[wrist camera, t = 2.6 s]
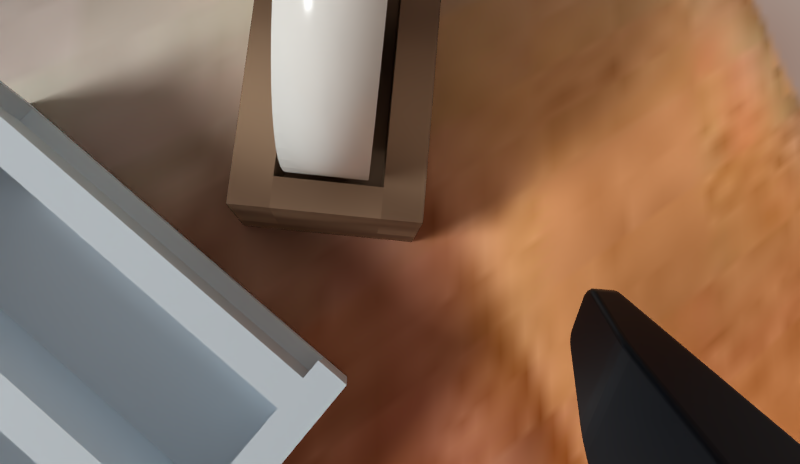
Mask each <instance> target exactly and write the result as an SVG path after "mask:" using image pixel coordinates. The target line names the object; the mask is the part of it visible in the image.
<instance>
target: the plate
mask: <svg viewBox="0 0 800 464" xmlns="http://www.w3.org/2000/svg"><path fill="white" fill-rule="evenodd" d="M387 1H388V0H272V18H271V95H272V115H273V128H274V138H275V146H276V151H277V156H278V161H279V164H280V167H281V168H282V170H283V171H285V172H291V173H300V174H310V175H320V176H329V177H339V178H349V179H358V180H369V172H370V164H371V155H372V146H373V136H374V127H375V118H376V108H377V99H378V89H379V79H380V70H381V60H382V50H383V41H384V31H385V21H386V11H387Z"/></svg>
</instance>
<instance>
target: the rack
mask: <svg viewBox="0 0 800 464" xmlns="http://www.w3.org/2000/svg"><path fill="white" fill-rule="evenodd" d="M346 385H347V376H346V375H344V374H343V373H342V372H341V371H340V370H339V369H338V368H336V367H335V366H334V365H333V364H332V363H331V362H329V361H328V360H327V359H326V358H325V357H324V356H322V355H321V354H320V353H319V352H318V351H317V350H315V349H314V348H313V347H312V346H311V345H310V344H308V343H307V342H306V341H305V340H304V339H303V338H301V337H300V336H299V335H298V334H297V333H296V332H295V331H293V330H292V329H291V328H290V327H289V326H288V325H286V324H285V323H284V322H283V321H282V320H281V319H279V318H278V317H277V316H276V315H275V314H274V313H272V312H271V311H270V310H269V309H268V308H267V307H265V306H264V305H263V304H262V303H261V302H260V301H258V300H257V299H256V298H255V297H254V296H253V295H252V294H250V293H249V292H248V291H247V290H246V289H245V288H243V287H242V286H241V285H240V284H239V283H238V282H236V281H235V280H234V279H233V278H232V277H231V276H229V275H228V274H227V273H226V272H225V271H224V270H222V269H221V268H220V267H219V266H218V265H217V264H216V263H214V262H213V261H212V260H211V259H210V258H209V257H207V256H206V255H205V254H204V253H203V252H202V251H200V250H199V249H198V248H197V247H196V246H195V245H193V244H192V243H191V242H190V241H189V240H188V239H186V238H185V237H184V236H183V235H182V234H181V233H179V232H178V231H177V230H176V229H175V228H174V227H173V226H171V225H170V224H169V223H168V222H167V221H166V220H164V219H163V218H162V217H161V216H160V215H159V214H157V213H156V212H155V211H154V210H153V209H152V208H150V207H149V206H148V205H147V204H146V203H145V202H143V201H142V200H141V199H140V198H139V197H138V196H137V195H135V194H134V193H133V192H132V191H131V190H130V189H128V188H127V187H126V186H125V185H124V184H123V183H121V182H120V181H119V180H118V179H117V178H116V177H114V176H113V175H112V174H111V173H110V172H109V171H107V170H106V169H105V168H104V167H103V166H102V165H100V164H99V163H98V162H97V161H96V160H95V159H94V158H92V157H91V156H90V155H89V154H88V153H87V152H85V151H84V150H83V149H82V148H81V147H80V146H78V145H77V144H76V143H75V142H74V141H73V140H71V139H70V138H69V137H68V136H67V135H66V134H64V133H63V132H62V131H61V130H60V129H59V128H57V127H56V126H55V125H54V124H53V123H52V122H51V121H49V120H48V119H47V118H46V117H45V116H44V115H42V114H41V113H40V112H39V111H38V110H37V109H35V108H34V107H33V106H32V105H31V104H30V103H28V102H27V101H26V100H25V99H23V98H22V97H21V96H19V95H18V94H17V93H15V92H14V91H13V90H12V89H10V88H9V87H8V86H6V85H5V84H4V83H2V82H1V81H0V464H282V463H283V461H284V460H285V459H286V458H287V457H288V455H289V454H290V453H291V452H292V451H293V449H294V448H295V447H296V446H297V444H298V443H299V442H300V441H301V440H302V438H303V437H304V436H305V435H306V434H307V432H308V431H309V430H310V429H311V428H312V426H313V425H314V424H315V423H316V422H317V420H318V419H319V418H320V417H321V416H322V414H323V413H324V412H325V411H326V409H327V408H328V407H329V406H330V405H331V403H332V402H333V401H334V400H335V399H336V397H337V396H338V395H339V394H340V393H341V391H342V390H343V389H344V388H345V387H346Z"/></svg>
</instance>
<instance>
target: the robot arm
mask: <svg viewBox="0 0 800 464" xmlns="http://www.w3.org/2000/svg"><path fill="white" fill-rule="evenodd" d="M570 345H571V354H572V362H573V369H574V377H575V385H576V393H577V401H578V409H579V417H580V425H581V431H582V438H583V443H584V447H585V452H586V456H587V460H588V464H800V444H799V443H798V442H797V441H795V440H794V439H793V438H792V437H791V436H789V435H788V434H787V433H786V432H785V431H783V430H782V429H781V428H780V427H779V426H777V425H776V424H775V423H774V422H773V421H772V420H770V419H769V418H768V417H767V416H766V415H764V414H763V413H762V412H761V411H760V410H758V409H757V408H756V407H755V406H754V405H752V404H751V403H750V402H749V401H748V400H747V399H745V398H744V397H743V396H742V395H741V394H739V393H738V392H737V391H736V390H735V389H733V388H732V387H731V386H730V385H729V384H727V383H726V382H725V381H724V380H723V379H722V378H720V377H719V376H718V375H717V374H716V373H714V372H713V371H712V370H711V369H710V368H708V367H707V366H706V365H705V364H704V363H703V362H701V361H700V360H699V359H698V358H697V357H695V356H694V355H693V354H692V353H691V352H689V351H688V350H687V349H686V348H685V347H683V346H682V345H681V344H680V343H679V342H678V341H676V340H675V339H674V338H673V337H672V336H670V335H669V334H668V333H667V332H666V331H664V330H663V329H662V328H661V327H660V326H658V325H657V324H656V323H655V322H654V321H653V320H651V319H650V318H649V317H648V316H647V315H645V314H644V313H643V312H642V311H641V310H639V309H638V308H637V307H636V306H635V305H633V304H632V303H631V302H630V301H629V300H628V299H626V298H625V297H624V296H623V295H622V294H620V293H619V292H617V291H614V290H603V289H590V290H588V291H587V293H586V294H585V296H584V298H583V301H582V303H581V306H580V309H579V312H578V314H577V317H576V320H575V323H574V326H573V328H572V332H571V339H570Z"/></svg>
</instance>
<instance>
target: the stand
mask: <svg viewBox="0 0 800 464" xmlns="http://www.w3.org/2000/svg"><path fill="white" fill-rule="evenodd" d="M440 3H441V0H388V1H387V11H386V21H385V31H384V41H383V50H382V60H381V70H380V79H379V89H378V99H377V108H376V118H375V127H374V136H373V146H372V155H371V164H370V172H369V180H358V179H349V178H339V177H329V176H320V175H310V174H300V173H291V172H285V171H283V170H282V168H281V167H280V164H279V161H278V156H277V151H276V146H275V138H274V128H273V115H272V95H271V18H272V0H254V6H253V13H252V20H251V27H250V35H249V42H248V49H247V56H246V63H245V70H244V78H243V85H242V92H241V99H240V106H239V113H238V120H237V128H236V135H235V142H234V149H233V156H232V163H231V170H230V178H229V185H228V192H227V199H226V204H227V205H228V207H229V208H230V209H231V210H232V211H233V212H234V214H235V215H236V216H237V217H238V218H239V220H240V221H241V222H242V223H243V224H244V225H245V226H255V227H265V228H276V229H286V230H296V231H306V232H317V233H327V234H337V235H347V236H357V237H368V238H378V239H388V240H398V241H408V242H412V241H413V239H414V237H415V235H416V234H417V232H418V230H419V229H420V227H421V225H422V224H423V215H424V202H425V190H426V177H427V165H428V152H429V140H430V128H431V115H432V103H433V90H434V78H435V65H436V53H437V40H438V28H439V15H440Z"/></svg>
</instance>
